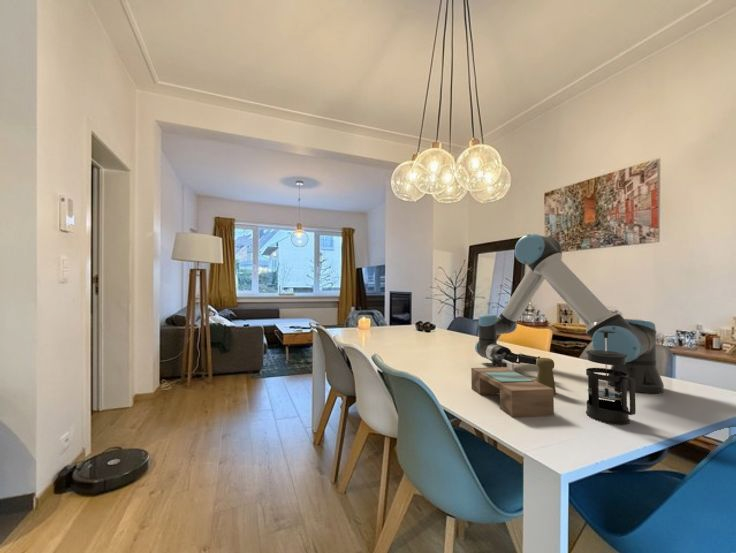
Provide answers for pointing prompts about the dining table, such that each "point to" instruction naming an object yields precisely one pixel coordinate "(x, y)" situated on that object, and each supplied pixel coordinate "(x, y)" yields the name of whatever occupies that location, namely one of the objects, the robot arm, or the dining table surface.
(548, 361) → the cork
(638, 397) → the dining table surface
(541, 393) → the wooden block
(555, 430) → the dining table surface
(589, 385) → the french press
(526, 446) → the dining table surface
